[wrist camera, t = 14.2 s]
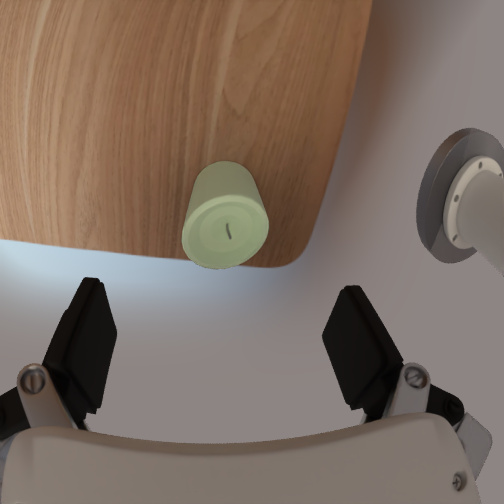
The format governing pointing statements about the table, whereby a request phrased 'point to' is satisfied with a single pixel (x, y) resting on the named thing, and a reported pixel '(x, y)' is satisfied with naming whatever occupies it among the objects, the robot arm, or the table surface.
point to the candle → (224, 217)
